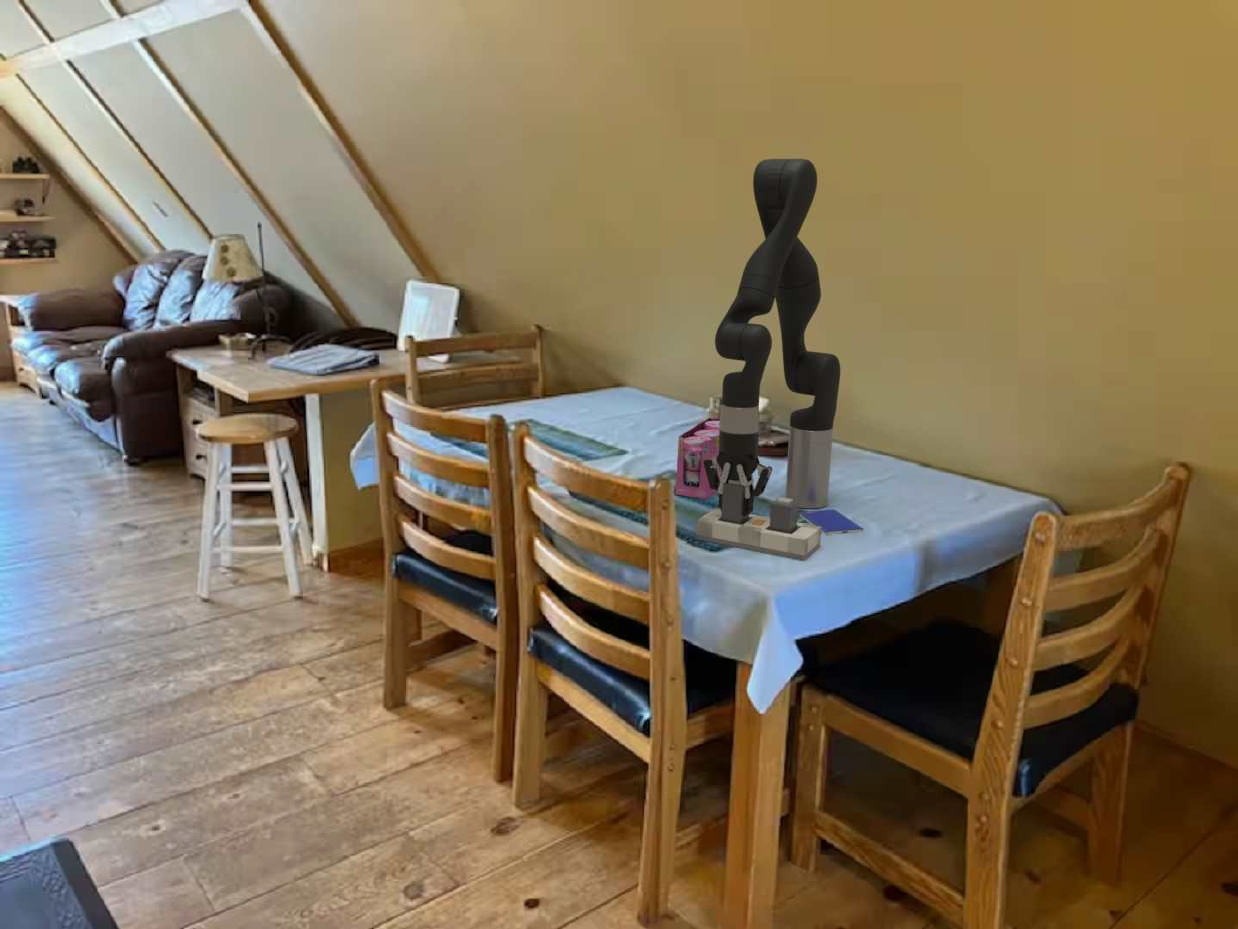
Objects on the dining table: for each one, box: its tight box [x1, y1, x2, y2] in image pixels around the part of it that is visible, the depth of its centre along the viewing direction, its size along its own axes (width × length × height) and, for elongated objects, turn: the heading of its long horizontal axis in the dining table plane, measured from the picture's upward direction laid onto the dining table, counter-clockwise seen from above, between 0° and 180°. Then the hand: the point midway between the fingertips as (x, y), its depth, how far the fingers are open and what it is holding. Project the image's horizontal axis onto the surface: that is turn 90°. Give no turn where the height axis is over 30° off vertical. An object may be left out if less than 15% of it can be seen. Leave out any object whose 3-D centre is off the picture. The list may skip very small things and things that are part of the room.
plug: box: [721, 479, 749, 525], centre depth 193 cm, size 4×4×9 cm
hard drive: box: [799, 509, 864, 536], centre depth 204 cm, size 2×8×12 cm
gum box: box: [675, 417, 723, 500], centre depth 229 cm, size 24×8×14 cm, turn 156°
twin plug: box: [769, 497, 799, 534], centre depth 189 cm, size 4×4×9 cm
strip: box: [696, 507, 822, 561], centre depth 192 cm, size 22×9×4 cm, turn 60°
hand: (735, 512), depth 194 cm, fingers closed on plug, 4 cm apart
